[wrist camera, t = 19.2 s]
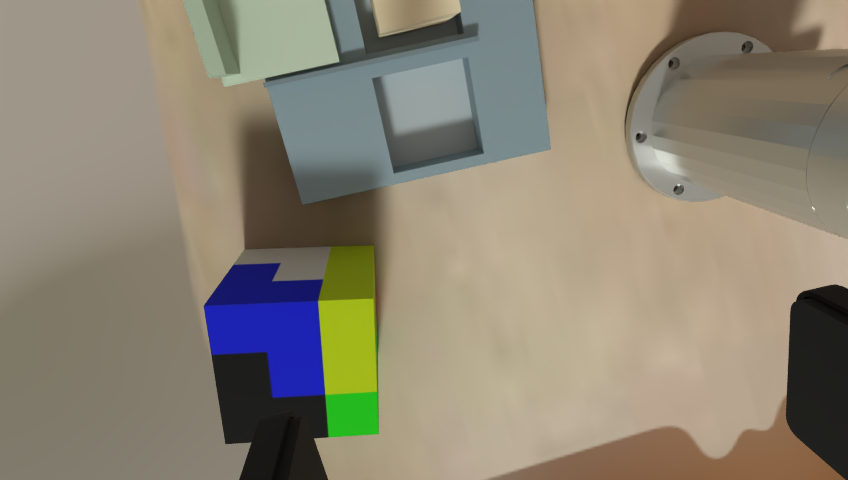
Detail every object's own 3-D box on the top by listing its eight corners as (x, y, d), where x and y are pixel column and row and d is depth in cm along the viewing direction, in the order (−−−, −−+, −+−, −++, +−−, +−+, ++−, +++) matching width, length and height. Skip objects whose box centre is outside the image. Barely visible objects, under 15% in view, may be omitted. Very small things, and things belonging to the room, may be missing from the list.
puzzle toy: (244, 249, 39) (203, 305, 30) (373, 244, 40) (373, 298, 31) (258, 360, 42) (225, 444, 33) (377, 354, 43) (378, 434, 34)
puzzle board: (507, -95, 33) (522, -115, 30) (537, 143, 39) (554, 151, 35) (239, -38, 33) (223, -51, 29) (307, 195, 38) (300, 207, 35)
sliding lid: (311, -55, 30) (302, -72, 27) (340, 61, 32) (335, 60, 29) (189, -29, 30) (164, -42, 26) (226, 86, 32) (208, 88, 29)
